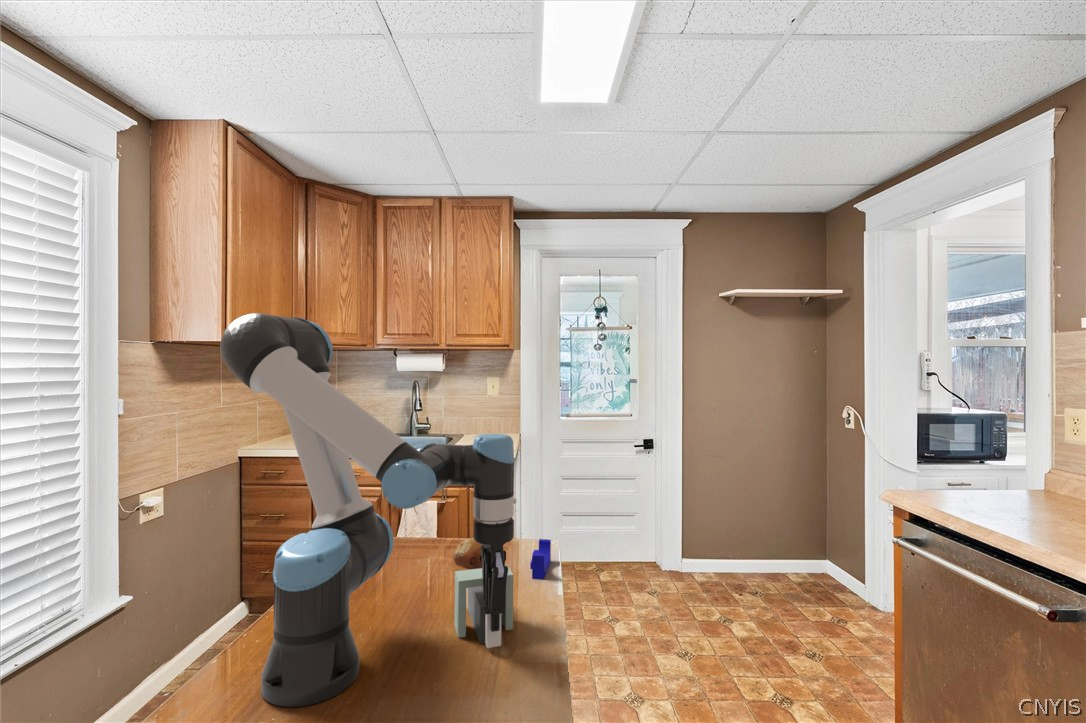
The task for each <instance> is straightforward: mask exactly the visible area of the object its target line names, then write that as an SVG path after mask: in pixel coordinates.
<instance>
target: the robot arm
mask: <svg viewBox="0 0 1086 723" xmlns="http://www.w3.org/2000/svg"><path fill="white" fill-rule="evenodd" d="M221 335H222V336H221V338H220V344H219V345H220V346H219V347H220V348H219V350H220V354H221V358H222V360H223V362H224V364H225V367H226V368H227V369H228V370H229V371H230V372H231V373H232V374H233V376H235V377H236V378H237V379H238V380H239V381H240V382H241V383H243V384H244V385H245V386H247V387H248V388H249V389H250V390H252V391H253V392H255V393H258V394H262V393H263V394H264V393H266V394H268V395H269V396H270V397H271V398H273V399H274V400H275V401H277V402H278V403H279V404H280V405H282V408H283V411H284V415H285V417H286V420H287V424H288V427H289V430H290V434H291V437H292V440H293V443H294V446H295V449H296V452H297V457H298V459H299V462H300V465H301V468H302V472H303V474H304V477H305V481H306V484H307V487H308V490H309V494H310V497H311V499H312V504H313V506H314V509H315V513H316V517H315V519H314V521H313V523H312V525H311V530H309V531H308V532H302V533H299V534H296V535H294V536H292V537H290V538H288V540H286V541H285V542H284V543H282V544H281V545H280V546H279V548H278V550H276V554H275V557H274V566H273V571H272V578H273V638H272V639H273V640H272V644H271V647H270V649H269V652H268V655H267V658H266V661H265V663H264V666H263V669H262V673H261V678H260V694H261V696H262V697H263V699H264V700H265V701H266V702H267V703H270V704H271V705H274V706H276V707H277V706H278V707H283V708H284V707H285V708H297V707H305V706H311V705H314V704H315V705H316V704H317V703H320V702H323V701H327V700H329V699H331V698H333V697H335V696H337V695H339V694H341V693H342V692H344V691H345V690H347V689H348V688H349V687H350V686H351V685H352V684H353V683H354V682H355V680H356V679H357V678H358V676H359V672H360V653H359V650H358V647H357V644H356V641H355V639H354V636H353V633H352V629H351V628H350V616H349V615H350V596H351V594H353V593H354V592H355V591H357V590H358V589H359V587H361V586H362V585H364V583H365V582H367V580H369V579H370V578H372V577H373V576H375V575H376V574H378V573H379V572H380V571H381V569H382V568H383V567H384V565H385V564H386V562H388V560H389V559H390V556H391V554H392V552H393V548H394V533H393V532H394V531H393V529H392V527H391V525H390V523H389V522H388V521H387V519H386V518H385V517H382V516H381V515H380V514H378V513H376V510H375V507H374V505H373V502H371V501H369V500H367V499H365V498H363V496H362V494H361V491H360V488H359V484H358V481H357V479H356V476H355V472H354V470H353V469H354V468H353V466H352V463H351V460H352V461H354V463H356V464H357V465H359V466H360V467H361V468H363V469H364V470H365V471H367V472H368V473H369V474H370V475H372V476H373V477H374V479H377V480H378V481H379V482H380V483H381V491H382V493H383V496H384V498H385V500H386V501H387V502H388V503H389V504H390V505H391V506H393V507H395V508H398V509H403V510H406V509H407V510H408V509H413V508H415V507H418V506H420V505H422V504H424V503H426V502H427V501H428V500H429V499H431V498H432V497H433V496H434V495H436V494H437V493H438V492H440V491H441V490H443V489H444V488H445V487H448V486H464V487H465V486H466V487H468V486H469V487H470V486H472V487H473V497H472V498H473V499H472V500H473V502H472V503H473V504H472V506H473V508H472V509H473V510H472V512H473V514H472V515H473V517H474V518H475V519H474V520H473V531H472V532H473V533H472V534H473V537H472V538H474V540H475V541H476V542H478V543H480V544H484V545H482V546H481V548H480V549H481V555H482V567H481V568H482V576H483V599H484V600H485V606H486V608H487V607H488V609H484V614H486V628H485V643H484V644H485V647H486V649H490V648H491V649H492V648H497V647H501V646H502V622H501V613H504V611H505V595H506V580H507V574H508V567H509V565H508V566H505V565H506V561H507V551H506V550H504V545H506V544H507V543H510V542H511V541H513V539H514V537H515V520H514V519H513V517H514V515H515V514H514V513H515V512H514V507H515V506H514V504H515V505H516V504H517V498H515V496H514V495H515V493H514V492H515V485H514V484H515V462H516V460H515V451H514V440H513V438H512V437H511V436H509V435H508V434H505V433H504V434H503V433H490V434H489V433H482V434H479V435H476V436H474V439H473V443H472V444H466V445H465V444H464V445H463V444H461V445H460V444H442V443H441V444H439V443H438V444H437V443H434V442H431V443H426V444H425V443H424V444H416V445H415V446H412V445H411V444H409V443H408V442H407V441H406V440H404V439H403V438H402V437H400V436H399V435H398V434H397V433H395V432H394V431H393V430H392V429H390V428H389V427H387V426H386V425H385V424H383V422H381V421H379V420H378V419H377V418H376V417H375V416H373V415H372V414H370V413H369V412H368V411H366V410H365V409H364V408H363V407H362V406H360V405H359V404H357V403H356V402H355V401H353V400H352V399H351V398H349V397H348V396H347V395H346V394H344V393H343V392H342V391H340V390H339V389H338V388H337V387H335V386H334V385H333V384H332V383H330V382H329V381H328V380H329V379H330V377H331V375H332V373H331V371H330V368H329V365H330V363H331V358H332V357H333V353H334V352H333V351H334V350H333V349H334V348H333V344H332V339H331V337H330V336H329V334H328V332H327V331H326V330H325V329H324V328H323V327H322V326H320V325H319V324H317V323H316V322H313V321H310V320H307V319H306V318H301V317H294V316H292V317H291V316H290V317H289V316H288V317H287V316H282V315H281V316H280V315H274V314H269V313H259V312H255V313H247V314H244V315H242V316H240V317H238V318H236V319H234V320H233V321H232V322H230V324H229V325H227V327H226V328H225V329H224V331H223V333H222V334H221ZM350 459H351V460H350Z"/></svg>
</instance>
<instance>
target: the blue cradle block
mask: <svg viewBox="0 0 1086 723" xmlns="http://www.w3.org/2000/svg"><path fill="white" fill-rule="evenodd" d="M551 546H552V539H546V538H545V539H542V538H539V540H538V549H534V550H533V552H532V554H531V555H532V556H531V561H530V564H529V566H530V567H529V568H530V570H531V574H532V575H531V579H532V580H543V581H544V580H545V578H546V575H547V573H548V570H549V566H550V564H551V562H552V560H551V557H552V555H551V552H552V551H551V549H552V548H551Z"/></svg>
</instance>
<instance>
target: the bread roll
mask: <svg viewBox="0 0 1086 723" xmlns="http://www.w3.org/2000/svg"><path fill="white" fill-rule="evenodd" d="M482 545H484V544H480V543H478V542H476V541H475V540H474V537H470V538H467V539H465V540H463V541H461V542H460V543H458V545H457V546H456V548H455V549H454V552H453V556H452V557H453V561H454V563H455V565H456V566H457V567H461V568H465V569H479V568H482V555H481V549H480V548H481V546H482Z"/></svg>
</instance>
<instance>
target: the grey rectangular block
mask: <svg viewBox="0 0 1086 723" xmlns="http://www.w3.org/2000/svg"><path fill="white" fill-rule="evenodd" d="M484 609H488V607H487V608H486V606H485V600H484V599H483V586H479V587H471V588H466V610H467V611H468V614H469V616H470V619H471V622H472V625H473V628H474V631H475V633H476V636H477V639H478V642H479V644H485V628H486V614H484Z"/></svg>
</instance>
